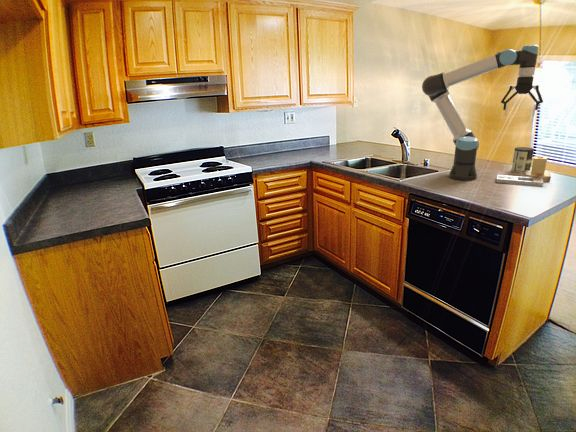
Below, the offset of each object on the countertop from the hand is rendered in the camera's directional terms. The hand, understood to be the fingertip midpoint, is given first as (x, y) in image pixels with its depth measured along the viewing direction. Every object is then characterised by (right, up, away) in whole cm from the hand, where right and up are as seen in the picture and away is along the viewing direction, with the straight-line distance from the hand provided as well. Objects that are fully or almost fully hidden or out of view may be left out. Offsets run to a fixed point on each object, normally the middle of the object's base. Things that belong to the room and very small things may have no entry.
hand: (518, 116), depth 212 cm
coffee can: (+14, -29, +22) cm, 39 cm away
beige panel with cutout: (-1, -37, -2) cm, 38 cm away
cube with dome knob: (+13, -32, +3) cm, 35 cm away
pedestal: (+13, -35, +4) cm, 37 cm away
